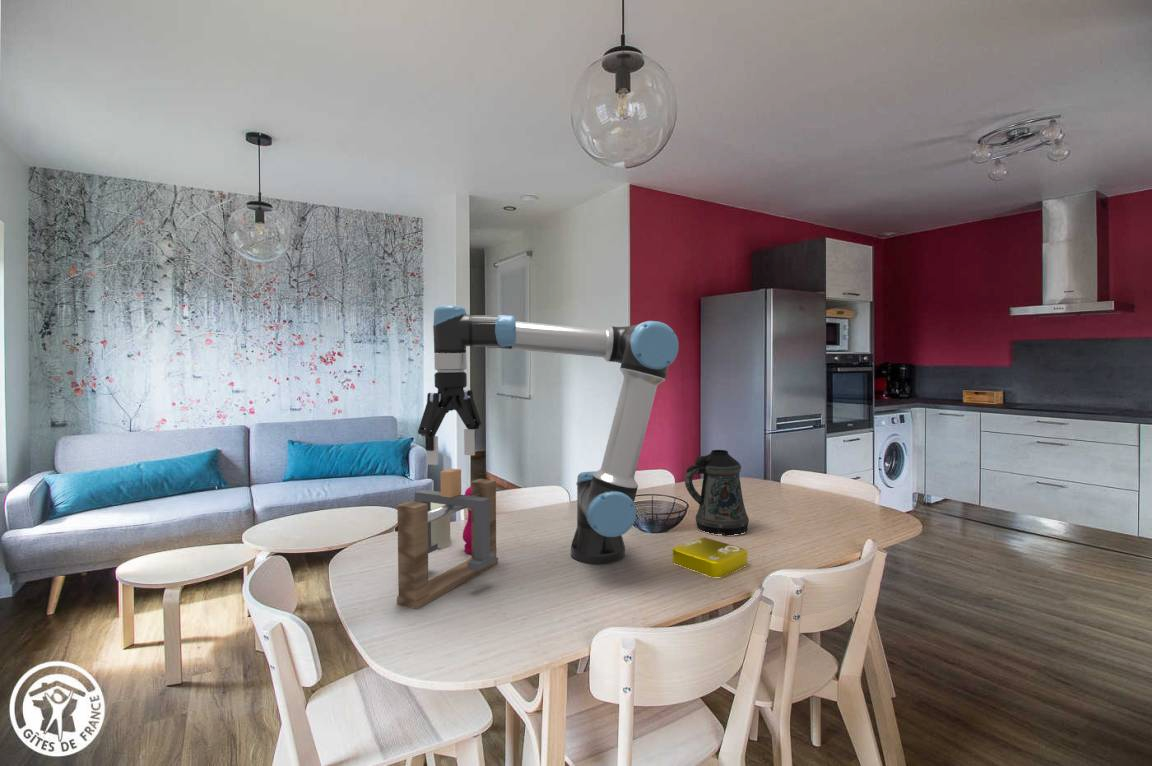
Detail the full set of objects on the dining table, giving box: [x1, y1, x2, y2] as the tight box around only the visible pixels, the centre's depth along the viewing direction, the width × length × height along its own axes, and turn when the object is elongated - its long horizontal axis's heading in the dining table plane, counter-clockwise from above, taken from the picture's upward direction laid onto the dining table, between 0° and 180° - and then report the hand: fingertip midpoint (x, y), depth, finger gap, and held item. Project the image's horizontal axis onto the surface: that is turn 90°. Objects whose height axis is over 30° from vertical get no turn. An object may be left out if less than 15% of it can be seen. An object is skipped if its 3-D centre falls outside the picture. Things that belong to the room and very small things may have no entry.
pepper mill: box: [462, 486, 472, 555], centre depth 153 cm, size 7×7×20 cm
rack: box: [396, 478, 499, 610], centre depth 132 cm, size 6×30×22 cm, turn 153°
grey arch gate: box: [414, 468, 497, 571], centre depth 132 cm, size 21×7×22 cm, turn 63°
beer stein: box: [684, 449, 750, 535], centre depth 173 cm, size 16×19×25 cm
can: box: [431, 503, 452, 549], centre depth 159 cm, size 9×9×12 cm
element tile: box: [672, 536, 748, 578], centre depth 144 cm, size 15×15×5 cm
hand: (452, 459), depth 131 cm, fingers open, 13 cm apart
